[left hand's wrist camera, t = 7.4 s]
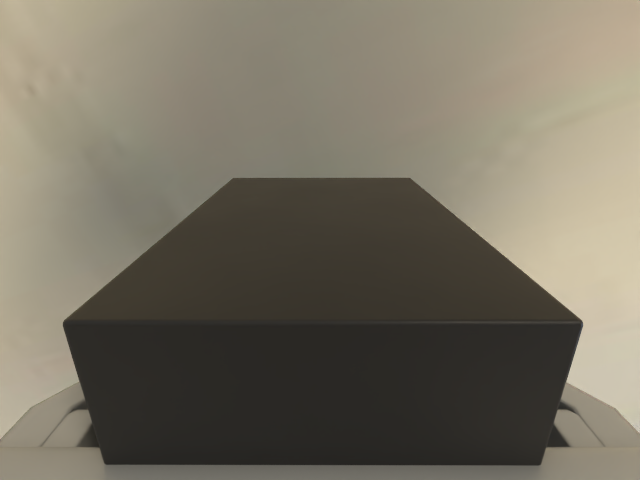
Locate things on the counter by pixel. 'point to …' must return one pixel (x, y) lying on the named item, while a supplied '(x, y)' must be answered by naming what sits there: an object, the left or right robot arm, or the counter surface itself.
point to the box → (322, 336)
